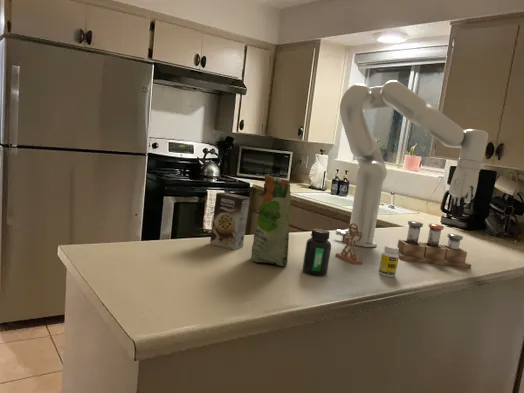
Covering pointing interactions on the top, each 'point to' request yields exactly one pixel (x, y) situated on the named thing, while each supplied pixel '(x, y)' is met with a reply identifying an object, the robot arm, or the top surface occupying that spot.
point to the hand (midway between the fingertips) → (456, 216)
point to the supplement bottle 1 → (317, 253)
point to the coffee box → (229, 220)
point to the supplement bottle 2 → (389, 261)
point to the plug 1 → (413, 232)
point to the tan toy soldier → (343, 254)
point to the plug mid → (434, 235)
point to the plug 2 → (454, 241)
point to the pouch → (273, 223)
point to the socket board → (432, 254)
